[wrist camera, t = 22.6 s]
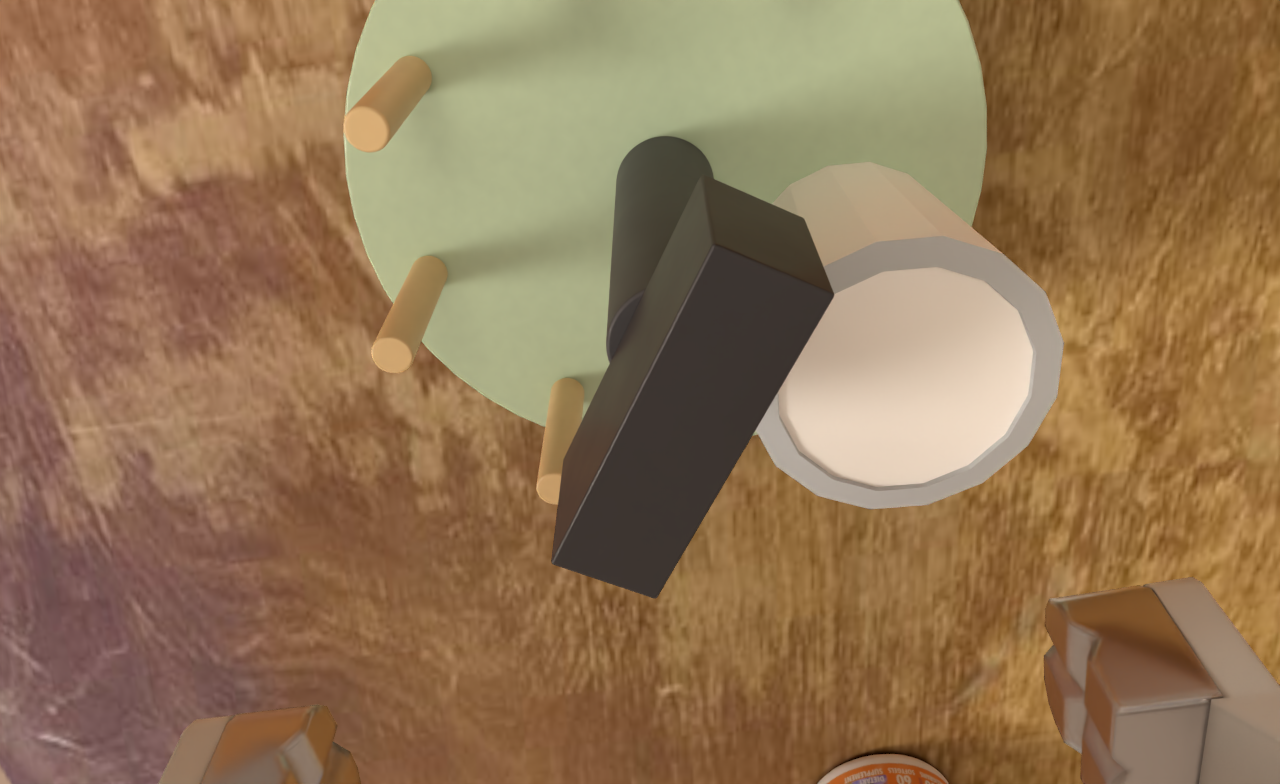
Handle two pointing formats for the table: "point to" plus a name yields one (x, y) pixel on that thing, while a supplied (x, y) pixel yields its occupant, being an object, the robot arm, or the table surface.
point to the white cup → (908, 348)
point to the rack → (634, 219)
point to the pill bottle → (884, 771)
